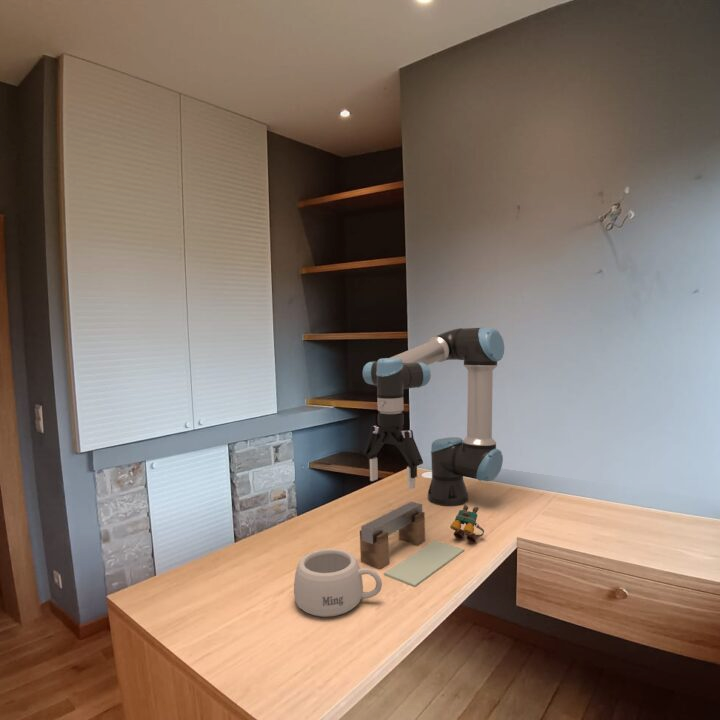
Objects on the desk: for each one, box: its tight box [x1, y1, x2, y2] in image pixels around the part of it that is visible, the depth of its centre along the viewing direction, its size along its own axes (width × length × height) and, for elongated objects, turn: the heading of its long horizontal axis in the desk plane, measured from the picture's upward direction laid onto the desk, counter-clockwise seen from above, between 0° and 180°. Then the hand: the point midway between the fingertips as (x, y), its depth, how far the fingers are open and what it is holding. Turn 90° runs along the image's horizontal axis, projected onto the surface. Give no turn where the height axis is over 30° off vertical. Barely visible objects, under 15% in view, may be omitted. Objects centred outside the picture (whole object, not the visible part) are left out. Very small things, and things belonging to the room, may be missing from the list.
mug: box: [293, 548, 383, 618], centre depth 116 cm, size 21×17×10 cm
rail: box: [360, 501, 423, 544], centre depth 141 cm, size 4×24×4 cm, turn 139°
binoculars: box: [450, 504, 485, 544], centre depth 148 cm, size 9×9×10 cm
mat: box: [383, 539, 465, 588], centre depth 134 cm, size 10×25×1 cm, turn 139°
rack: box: [359, 511, 426, 570], centre depth 141 cm, size 7×22×9 cm, turn 139°
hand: (392, 484), depth 140 cm, fingers open, 13 cm apart
